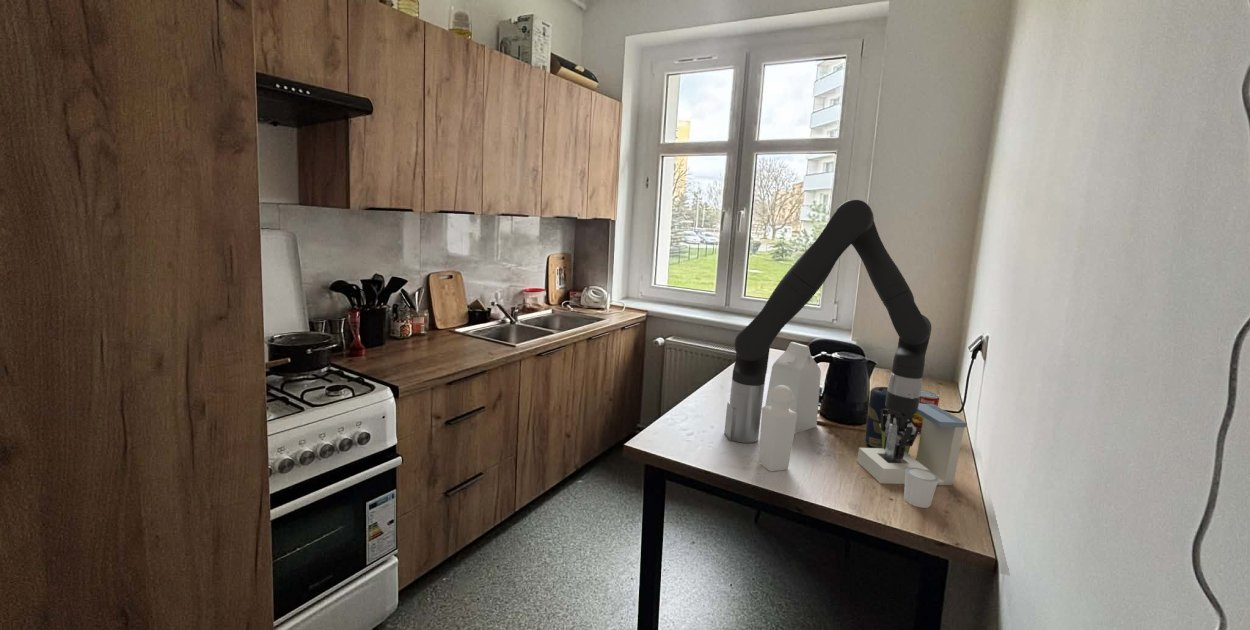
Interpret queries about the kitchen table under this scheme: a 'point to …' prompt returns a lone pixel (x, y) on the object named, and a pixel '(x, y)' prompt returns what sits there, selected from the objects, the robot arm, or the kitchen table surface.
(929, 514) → the kitchen table surface
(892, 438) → the peg
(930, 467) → the socket station
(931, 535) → the kitchen table surface
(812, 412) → the milk
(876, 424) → the canister
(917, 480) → the white tapered cup
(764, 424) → the white square bottle
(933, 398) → the canned food
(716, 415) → the kitchen table surface
